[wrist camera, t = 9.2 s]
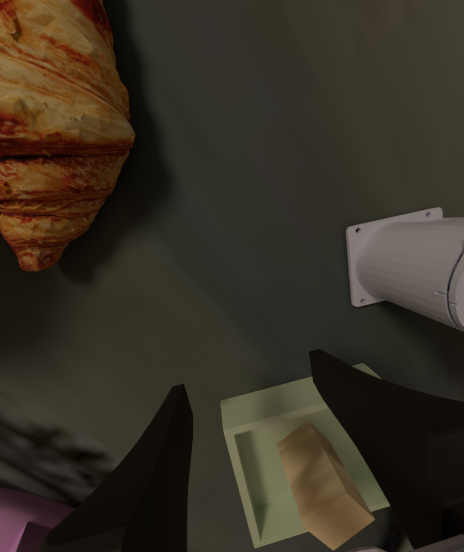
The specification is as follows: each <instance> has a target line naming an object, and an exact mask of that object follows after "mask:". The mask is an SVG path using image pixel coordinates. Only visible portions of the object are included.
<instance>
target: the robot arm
mask: <svg viewBox="0 0 464 552" xmlns="http://www.w3.org/2000/svg"><path fill="white" fill-rule="evenodd" d="M426 214H427V216H426ZM357 228H358V232H357V233H356V229H357ZM346 241H347V254H348V267H349V280H350V293H351V303H352V305H353V306H355V307H360V306H364V305H368V304H372V303H376V302H381V301H385V300H387V301H390V302H392V303H394V304H397V305H399V306H402V307H404V308H407V309H409V310H411V311H414V312H416V313H419V314H421V315H424V316H426V317H428V318H431V319H433V320H436V321H438V322H441V323H443V324H445V325H448V326H450V327H453V328H455V329H458V330H460V331H462V332H464V217H462V218H442V209H441V208H431V209H427V210H422V211H418V212H413V213H409V214H404V215H399V216H395V217H390V218H386V219H381V220H377V221H372V222H368V223H363V224H358V225H354V226H350V227H348V228H347V230H346ZM362 299H363V301H362V302H361V300H362ZM309 355H310V363H311V370H312V378H313V383H314V385H315V386H316V388H317V390H318V392H319V394H320V395H321V397H322V399H323V400H324V402H325V403H326V405H327V406H328V408H329V409H330V410H331V412H332V413H333V415H334V416H335V417H336V419H337V420H338V421H339V423H340V424H341V426H342V427H343V428H344V430H345V431H346V433H347V434H348V435H349V437H350V438H351V440H352V441H353V443H354V444H355V446H356V447H357V449H358V451H359V452H360V454H361V456H362V457H363V459H364V461H365V462H366V464H367V466H368V467H369V469H370V471H371V473H372V474H373V476H374V478H375V480H376V481H377V483H378V485H379V486H380V488H381V490H382V492H383V493H384V495H385V497H386V499H387V501H388V503H389V504H390V506H391V508H392V510H393V512H394V513H395V515H396V517H397V519H398V521H399V522H400V524H401V526H402V528H403V530H404V532H405V534H406V536H407V537H408V539H409V541H410V543H411V545H412V547H413V549H414V550H412V551H409V552H464V402H462V401H456V400H451V399H447V398H442V397H438V396H434V395H430V394H426V393H422V392H418V391H415V390H412V389H408V388H405V387H402V386H399V385H396V384H393V383H390V382H388V381H385V380H382V379H380V378H377V377H375V376H372V375H370V374H368V373H366V372H363V371H361V370H359V369H357V368H355V367H353V366H351V365H349V364H347V363H345V362H343V361H341V360H339V359H337V358H335V357H334V356H332V355H330V354H328V353H326V352H324V351H322V350H320V349H317V350H313V351H309ZM192 441H193V413H192V410H191V406H190V403H189V400H188V396H187V393H186V390H185V386H184V384H181V385H177V386H173V387H172V388H171V390H170V392H169V393H168V395H167V397H166V399H165V400H164V402H163V404H162V405H161V407H160V409H159V410H158V412H157V414H156V415H155V417H154V418H153V420H152V421H151V423H150V425H149V426H148V427H147V429H146V430H145V432H144V433H143V435H142V436H141V438H140V439H139V440H138V442H137V443H136V444H135V446H134V447H133V448H132V449H131V451H130V452H129V453H128V454H127V456H126V457H125V458H124V459H123V460H122V461H121V463H120V464H119V465H118V466H117V467H116V468H115V469H114V470H113V472H112V473H111V474H110V475H109V476H108V477H107V478H106V479H105V480H104V481H103V482H102V483H101V484H100V485H99V486H98V488H97V489H96V490H95V491H94V492H93V493H91V494H90V495H89V496H88V497H87V498H86V499H85V500H84V501H83V502H82V503H81V504H80V505H79V506H78V507H77V508H76V509H75V510H73V511H72V512H71V513H70V514H69V515H68V516H67V517H66V518H64V519H63V520H62V521H61V522H60V523H59V524H58V525H57V526H55V527H54V528H53V529H52V530H51V531H50V532H48V534H47V535H46V537H45V539H44V541H43V543H42V545H41V547H40V548H39V550H38V552H187V497H188V482H189V472H190V462H191V452H192ZM347 552H386V551H384V550H382V549H379V548H376V547H374V546H369V547H362V548H356V549H353V550H350V551H347Z"/></svg>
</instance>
